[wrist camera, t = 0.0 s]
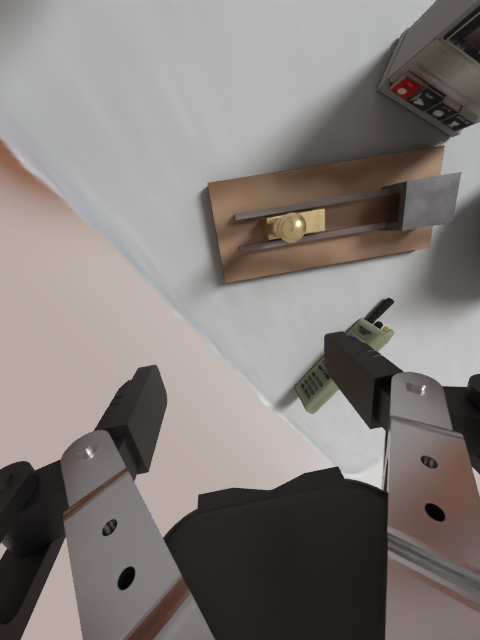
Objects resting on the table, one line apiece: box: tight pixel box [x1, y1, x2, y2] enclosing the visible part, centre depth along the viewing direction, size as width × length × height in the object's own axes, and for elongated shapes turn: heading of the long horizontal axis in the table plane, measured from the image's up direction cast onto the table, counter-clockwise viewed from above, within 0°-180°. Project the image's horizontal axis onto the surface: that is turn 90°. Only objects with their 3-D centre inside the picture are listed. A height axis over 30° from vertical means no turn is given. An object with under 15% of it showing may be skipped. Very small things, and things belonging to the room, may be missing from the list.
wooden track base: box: [208, 145, 445, 283], centre depth 35 cm, size 14×34×4 cm, turn 99°
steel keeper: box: [378, 172, 461, 231], centre depth 33 cm, size 6×7×5 cm
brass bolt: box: [263, 209, 325, 243], centre depth 29 cm, size 3×8×12 cm, turn 99°
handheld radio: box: [294, 298, 395, 414], centre depth 43 cm, size 7×3×25 cm
